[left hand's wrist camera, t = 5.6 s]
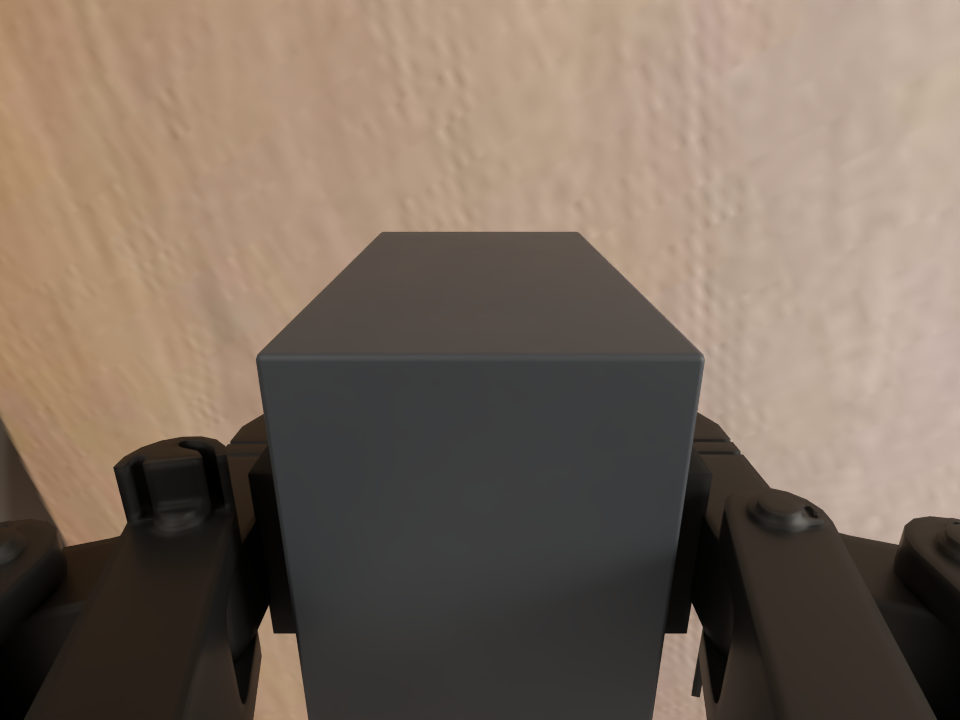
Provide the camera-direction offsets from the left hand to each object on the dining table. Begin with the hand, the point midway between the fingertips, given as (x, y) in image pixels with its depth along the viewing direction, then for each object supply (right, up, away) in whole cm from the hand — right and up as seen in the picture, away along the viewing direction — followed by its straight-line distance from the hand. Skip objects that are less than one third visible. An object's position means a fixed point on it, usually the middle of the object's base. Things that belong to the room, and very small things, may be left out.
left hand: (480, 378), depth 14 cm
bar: (0, -9, +4) cm, 10 cm away
